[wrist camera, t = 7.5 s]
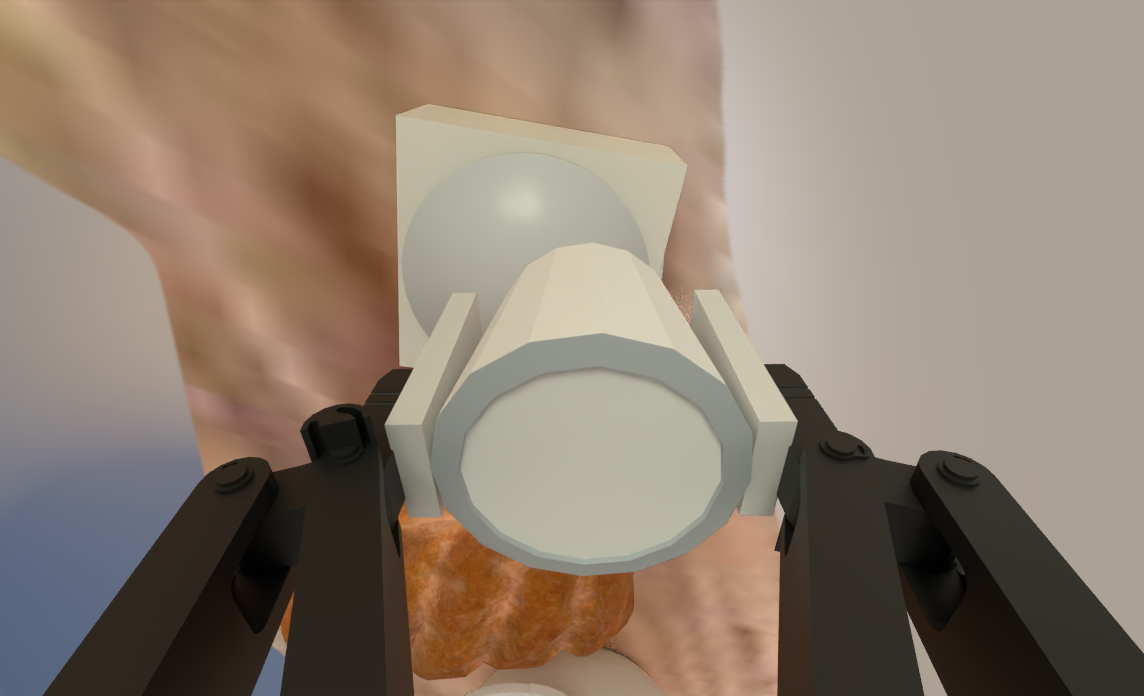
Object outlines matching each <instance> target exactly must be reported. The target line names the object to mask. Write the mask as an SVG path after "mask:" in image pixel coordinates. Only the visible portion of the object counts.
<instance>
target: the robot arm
mask: <svg viewBox="0 0 1144 696" xmlns="http://www.w3.org/2000/svg"><path fill="white" fill-rule="evenodd" d="M690 327H691V329H692V331H693V332H694V334H695V335H696V337H697V339H698V340H699V342H700V343H701V345H702V347H703V348H704V350H705V351H706V353H707V355H708V356H709V358H710V359H711V361H712V363H713V364H714V366H715V367H716V369H717V371H718V372H719V374H720V375H721V377H722V379H723V380H724V382H725V383H726V385H727V387H728V389H729V390H730V392H731V394H732V396H733V398H734V400H735V401H736V403H737V405H738V407H739V409H740V411H741V412H742V414H743V416H744V418H745V420H746V422H747V423H748V425H749V427H750V429H751V431H752V433H753V441H752V471H751V482H750V484H749V486H748V488H747V489H746V491H745V493H744V494H743V496H742V498H741V500H740V501H739V503H738V505H737V506H736V507H737V510H738V513H739V516H766V515H773V513H774V509H775V505H776V501H777V498H778V499H779V501H780V503H781V505H782V508H783V510H784V512H785V515H784V518H783V522H782V525H781V529H780V532H779V536H778V539H777V543H776V546H775V551H778V552H780V591H779V641H778V691H777V696H924V693H923V687H922V683H921V678H920V673H919V668H918V663H917V659H916V653H915V649H914V644H913V639H912V635H911V629H910V624H909V620H908V615H907V612H908V614H909V616H910V618H911V620H912V622H913V624H914V626H915V628H916V630H917V632H918V635H919V637H920V639H921V641H922V643H923V645H924V647H925V649H926V651H927V653H928V656H929V658H930V660H931V662H932V664H933V666H934V668H935V670H936V672H937V674H938V677H939V679H940V681H941V683H942V685H943V687H944V689H945V691H946V693H947V695H948V696H1144V654H1143V652H1142V651H1141V650H1140V649H1139V648H1138V646H1137V645H1136V644H1135V643H1134V642H1133V640H1132V639H1131V638H1130V637H1129V636H1128V635H1127V633H1126V632H1125V631H1124V630H1123V628H1122V627H1121V626H1120V625H1119V624H1118V622H1117V621H1116V620H1115V619H1114V618H1113V616H1112V615H1111V614H1110V613H1109V612H1108V610H1107V609H1106V608H1105V607H1104V606H1103V604H1102V603H1101V602H1100V601H1099V600H1098V598H1097V597H1096V596H1095V595H1094V594H1093V593H1092V591H1091V590H1090V589H1089V588H1088V587H1087V586H1086V584H1085V583H1084V582H1083V581H1082V579H1081V578H1080V577H1079V576H1078V575H1077V573H1076V572H1075V571H1074V570H1073V569H1072V567H1071V566H1070V565H1069V564H1068V563H1067V561H1066V560H1065V559H1064V558H1063V557H1062V555H1061V554H1060V553H1059V552H1058V551H1057V550H1056V548H1055V547H1054V546H1053V545H1052V543H1051V542H1050V541H1049V540H1048V539H1047V537H1046V536H1045V535H1044V534H1043V533H1042V532H1041V531H1040V529H1039V528H1038V527H1037V526H1036V524H1035V523H1034V522H1033V521H1032V520H1031V519H1030V517H1029V516H1028V515H1027V514H1026V513H1025V511H1024V510H1023V509H1022V508H1021V506H1020V505H1019V504H1018V503H1017V502H1016V500H1015V499H1014V498H1013V497H1012V496H1011V494H1010V493H1009V492H1008V491H1007V490H1006V488H1005V487H1004V486H1003V485H1002V484H1001V483H1000V481H999V480H998V479H997V478H996V477H995V475H993V474H992V473H991V472H990V471H989V470H988V469H987V468H986V467H984V466H983V465H981V464H979V463H977V462H976V461H974V460H972V459H971V458H968V457H965V456H962V455H960V454H957V453H952V452H947V451H941V450H940V451H929V452H927V453H925V454H923V455H921V457H920V459H919V461H918V463H917V466H912V465H907V464H902V463H897V462H892V461H887V460H883V459H879V458H876V457H874V455H873V453H872V451H871V449H870V448H869V447H868V446H867V445H866V444H865V443H864V442H862V441H861V440H860V439H858V438H856V437H854V436H852V435H850V434H847V433H844V432H841V431H838V430H837V428H836V427H835V426H834V424H833V423H832V421H831V420H830V418H829V417H828V415H827V414H826V413H825V411H824V410H823V408H822V407H821V405H820V404H819V402H818V401H817V400H816V399H815V398H814V395H813V394H812V392H811V391H810V389H808V387H807V385H806V384H805V382H804V381H803V379H802V378H801V377H800V375H799V374H797V373H796V372H795V371H793V370H792V369H790V368H789V367H787V366H786V365H785V364H763V363H762V361H761V359H760V358H759V356H758V354H757V353H756V351H755V349H754V348H753V346H752V344H751V343H750V341H749V339H748V338H747V336H746V334H745V333H744V331H743V329H742V328H741V326H740V324H739V323H738V321H737V319H736V318H735V316H734V314H733V313H732V311H731V309H730V308H729V306H728V304H727V303H726V301H725V299H724V298H723V296H722V294H721V293H720V291H719V289H718V290H694V297H693V306H692V314H691V323H690ZM481 339H482V331H481V323H480V315H479V307H478V298H477V293H453V294H452V296H451V298H450V299H449V301H448V303H447V305H446V307H445V309H444V311H443V313H442V315H441V317H440V319H439V321H438V323H437V324H436V326H435V328H434V330H433V332H432V334H431V336H430V338H429V340H428V342H427V344H426V346H425V348H424V350H423V351H422V353H421V355H420V357H419V359H418V361H417V363H416V365H415V367H414V369H393V370H391V371H390V372H389V373H387V374H386V375H385V376H383V377H382V378H381V379H380V380H379V381H378V382H377V384H376V386H375V387H374V389H373V390H372V392H371V395H369V397H368V399H367V400H366V402H365V405H363V406H361V405H356V404H340V405H335V406H331V407H328V408H325V409H323V410H321V411H319V412H317V413H315V414H313V415H312V416H311V417H310V418H309V419H307V420H306V421H305V422H304V424H303V426H302V428H301V430H300V432H301V434H302V437H303V440H304V442H305V445H306V448H307V450H308V453H309V456H310V458H311V461H312V463H309V464H305V465H302V466H298V467H293V468H289V469H285V470H280V471H276V472H272V470H271V468H270V465H269V463H268V461H266V460H264V459H262V458H256V457H247V458H241V459H236V460H233V461H231V462H228V463H226V464H223V465H221V466H219V467H218V468H216V469H214V470H213V471H211V472H210V473H208V474H207V475H206V476H205V477H204V478H203V479H202V480H201V481H200V482H199V483H198V485H197V486H196V487H195V489H194V490H193V491H192V493H191V494H190V496H189V497H188V498H187V500H186V501H185V502H184V504H183V505H182V506H181V508H180V509H179V511H178V512H177V513H176V515H175V516H174V517H173V519H172V520H171V522H170V523H169V524H168V526H167V527H166V528H165V530H164V531H163V532H162V534H161V535H160V536H159V538H158V539H157V540H156V542H155V543H154V545H153V546H152V547H151V549H150V550H149V551H148V553H147V554H146V555H145V557H144V558H143V560H142V561H141V562H140V564H139V565H138V566H137V568H136V569H135V570H134V572H133V573H132V575H131V576H130V577H129V579H128V580H127V581H126V583H125V584H124V585H123V587H122V588H121V589H120V591H119V592H118V594H117V595H116V596H115V598H114V599H113V601H112V602H111V603H110V605H109V606H108V607H107V609H106V610H105V611H104V613H103V614H102V615H101V617H100V618H99V620H98V621H97V622H96V624H95V625H94V626H93V628H92V629H91V630H90V632H89V633H88V634H87V636H86V637H85V638H84V640H83V641H82V643H81V644H80V645H79V647H78V648H77V649H76V651H75V652H74V653H73V655H72V656H71V658H70V659H69V660H68V662H67V663H66V664H65V666H64V667H63V669H62V670H61V671H60V673H59V674H58V675H57V677H56V678H55V680H54V681H53V682H52V684H51V685H50V686H49V688H48V689H47V690H46V692H45V693H44V694H43V696H251V695H252V692H253V690H254V687H255V685H256V682H257V680H258V678H259V675H260V673H261V670H262V668H263V665H264V663H265V660H266V658H267V656H268V653H269V651H270V648H271V646H272V643H273V641H274V638H275V636H276V634H277V631H278V629H279V626H280V624H281V621H282V619H283V616H284V614H285V612H286V609H287V607H288V604H289V602H290V599H291V597H292V594H293V592H294V597H293V604H292V612H291V619H290V626H289V634H288V641H287V649H286V656H285V664H284V671H283V679H282V687H281V693H280V696H414V686H413V673H412V660H411V647H410V633H409V620H408V607H407V594H406V581H405V567H404V554H403V541H402V529H401V526H400V522H399V519H398V516H399V513H400V511H401V508H402V506H403V503H404V501H405V505H406V509H407V513H408V517H442V513H443V510H444V506H445V504H444V502H443V499H442V497H441V494H440V492H439V489H438V487H437V484H436V482H435V479H434V477H433V474H432V472H431V469H430V460H431V453H432V446H433V438H434V431H435V423H436V418H437V416H438V415H439V413H440V411H441V409H442V407H443V406H444V404H445V402H446V400H447V399H448V397H449V395H450V393H451V392H452V390H453V388H454V386H455V385H456V383H457V381H458V379H459V378H460V376H461V374H462V372H463V371H464V369H465V367H466V365H467V364H468V362H469V360H470V358H471V356H472V355H473V353H474V351H475V349H476V348H477V346H478V344H479V342H480V341H481ZM906 609H907V610H906Z"/></svg>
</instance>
